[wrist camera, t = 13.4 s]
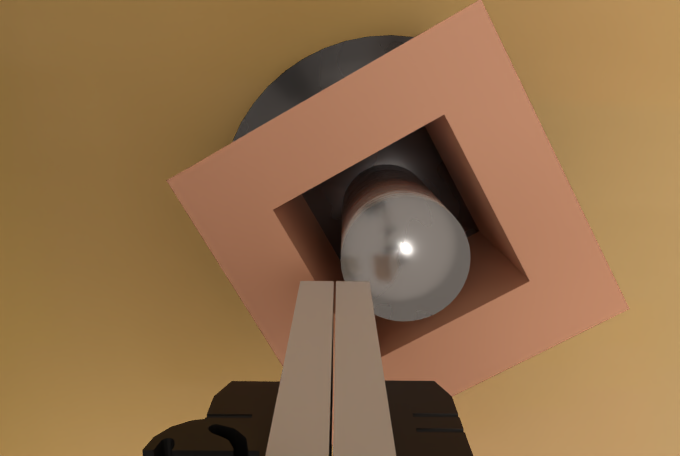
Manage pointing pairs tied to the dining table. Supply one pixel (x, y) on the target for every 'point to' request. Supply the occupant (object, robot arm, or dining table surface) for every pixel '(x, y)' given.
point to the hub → (382, 197)
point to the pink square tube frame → (470, 179)
